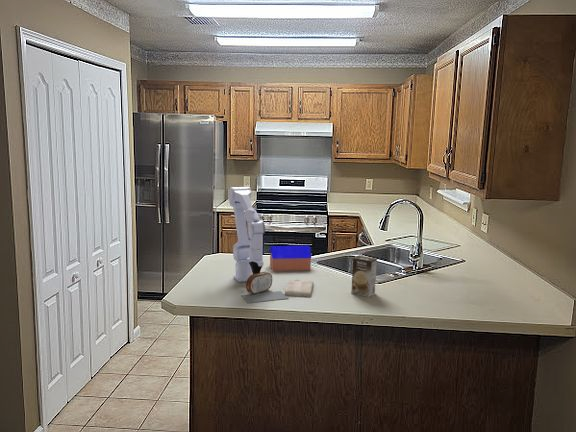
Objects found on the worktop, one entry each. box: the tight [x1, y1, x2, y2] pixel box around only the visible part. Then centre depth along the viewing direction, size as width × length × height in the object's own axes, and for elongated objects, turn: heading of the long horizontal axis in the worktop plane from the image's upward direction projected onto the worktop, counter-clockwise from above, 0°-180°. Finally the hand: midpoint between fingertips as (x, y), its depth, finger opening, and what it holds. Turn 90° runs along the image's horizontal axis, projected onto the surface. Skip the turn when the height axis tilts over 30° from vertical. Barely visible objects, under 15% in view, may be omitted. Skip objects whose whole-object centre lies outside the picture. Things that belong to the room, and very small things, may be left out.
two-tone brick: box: [269, 245, 312, 272], centre depth 265 cm, size 12×20×12 cm, turn 100°
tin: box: [245, 271, 273, 294], centre depth 224 cm, size 15×3×8 cm, turn 141°
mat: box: [240, 290, 289, 304], centre depth 218 cm, size 10×18×1 cm, turn 111°
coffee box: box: [350, 254, 378, 298], centre depth 225 cm, size 9×6×16 cm
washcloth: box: [284, 279, 314, 298], centre depth 229 cm, size 12×18×3 cm, turn 175°
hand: (256, 277), depth 229 cm, fingers closed
